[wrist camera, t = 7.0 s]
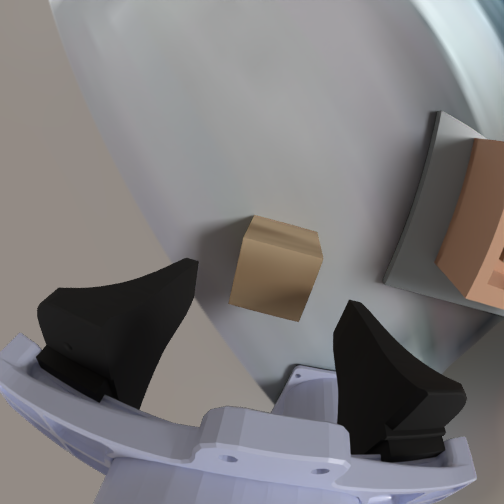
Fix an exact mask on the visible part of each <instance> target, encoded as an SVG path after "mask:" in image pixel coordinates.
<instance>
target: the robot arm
mask: <svg viewBox="0 0 504 504" xmlns="http://www.w3.org/2000/svg"><path fill="white" fill-rule="evenodd" d="M198 263H199V261H196V260H192V259H189V258H185V259H182V260H180V261H178V262H176V263H174V264H171V265H170V266H167V267H165V268H163V269H160V270H158V271H156V272H153V273H151V274H148V275H145V276H143V277H140V278H137V279H134V280H130V281H127V282H123V283H118V284H113V285H107V286H101V287H92V288H58V289H57V290H55V291H54V292H53V293H52V294H51V295H49V296H48V297H47V298H46V299H45V300H44V301H42V302H41V303H40V304H39V306H38V308H37V309H38V310H37V317H38V321H39V324H40V328H41V331H42V333H43V337H44V339H45V342H46V346H45V347H44V349H43V350H41V348H40V347H39V346H38V345H37V344H36V343H35V342H33V341H32V340H31V339H29V338H28V337H26V336H25V335H23V334H22V333H19V334H18V335H17V336H16V337H15V338H14V339H13V340H12V341H11V342H10V343H9V344H8V345H7V346H6V347H5V348H4V349H3V350H2V351H1V352H0V393H1V394H2V396H3V397H4V398H5V400H6V401H7V402H8V404H9V405H10V406H11V407H12V408H13V409H14V410H15V411H16V412H18V413H19V414H20V415H21V416H22V417H24V418H25V419H26V420H27V421H28V422H29V423H31V424H32V425H33V426H34V427H36V428H37V429H38V430H39V431H41V432H42V433H43V434H45V435H46V436H47V437H48V438H49V439H51V440H52V441H53V442H55V443H56V444H58V445H59V446H60V447H62V448H63V449H64V450H66V451H68V452H69V453H70V454H72V455H73V456H75V457H76V458H78V459H79V460H81V461H82V462H84V463H86V464H87V465H89V466H90V467H92V468H94V469H95V470H97V471H99V472H101V473H102V474H104V475H106V477H105V479H104V481H103V483H102V485H101V487H100V489H99V492H98V494H97V496H96V498H95V500H94V502H93V504H432V503H436V502H438V501H440V500H442V499H444V498H446V497H448V496H449V495H451V494H453V493H455V492H456V491H458V490H460V489H462V488H464V487H465V486H467V485H468V484H470V483H472V482H473V481H475V480H476V479H477V476H476V472H475V468H474V464H473V460H472V456H471V453H470V450H469V446H468V443H467V440H466V437H465V436H462V437H457V438H451V439H448V440H446V441H444V442H443V439H442V436H444V435H445V433H446V431H445V428H444V426H446V424H448V423H449V422H450V421H451V420H452V419H453V418H454V417H455V416H456V415H457V414H458V413H459V412H460V411H461V410H462V408H463V407H464V405H465V403H466V400H467V397H466V394H465V391H464V389H463V387H462V385H461V384H460V383H458V382H456V381H454V380H451V379H449V378H447V377H445V376H443V375H442V374H440V373H438V372H436V371H435V370H433V369H431V368H430V367H428V366H427V365H425V364H424V363H423V362H421V361H420V360H418V359H417V358H416V357H414V356H413V355H412V354H411V353H410V352H408V351H407V350H406V349H405V348H404V347H403V346H402V345H400V344H399V343H398V342H397V341H396V340H395V339H394V338H393V337H392V336H391V335H390V334H389V332H388V331H387V330H386V329H385V328H384V327H383V326H382V325H381V324H380V322H379V321H378V320H377V319H376V318H375V317H374V316H373V315H372V313H371V312H370V311H369V310H368V309H367V308H366V307H365V306H364V305H363V304H362V303H361V302H357V301H353V300H349V301H348V303H347V306H346V308H345V310H344V312H343V314H342V316H341V318H340V320H339V322H338V324H337V326H336V328H335V330H334V332H333V352H334V360H335V368H336V372H335V371H329V370H323V369H317V368H312V367H307V366H301V365H299V366H296V367H295V368H294V369H293V371H292V373H291V375H290V377H289V379H288V381H287V383H286V385H285V387H284V389H283V391H282V393H281V395H280V397H279V398H278V400H277V402H276V404H275V406H274V408H273V410H272V411H271V413H268V412H263V411H258V410H253V409H249V408H243V407H233V406H225V407H219V408H214V409H210V410H209V411H208V412H207V413H206V414H205V415H204V416H203V419H202V422H201V426H200V427H194V426H187V425H182V424H176V423H172V422H169V421H167V420H164V419H161V418H158V417H156V416H153V415H150V414H148V413H146V412H143V411H141V410H139V409H140V406H141V403H142V401H143V398H144V396H145V393H146V390H147V388H148V385H149V383H150V380H151V378H152V375H153V373H154V371H155V369H156V366H157V364H158V362H159V360H160V358H161V355H162V353H163V351H164V349H165V348H166V346H167V344H168V343H169V341H170V340H171V338H172V336H173V335H174V333H175V332H176V330H177V328H178V327H179V325H180V324H181V322H182V320H183V319H184V317H185V316H186V314H187V312H188V310H189V307H190V305H191V303H192V301H193V298H194V293H195V285H196V277H197V270H198ZM297 374H299V375H297Z"/></svg>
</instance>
